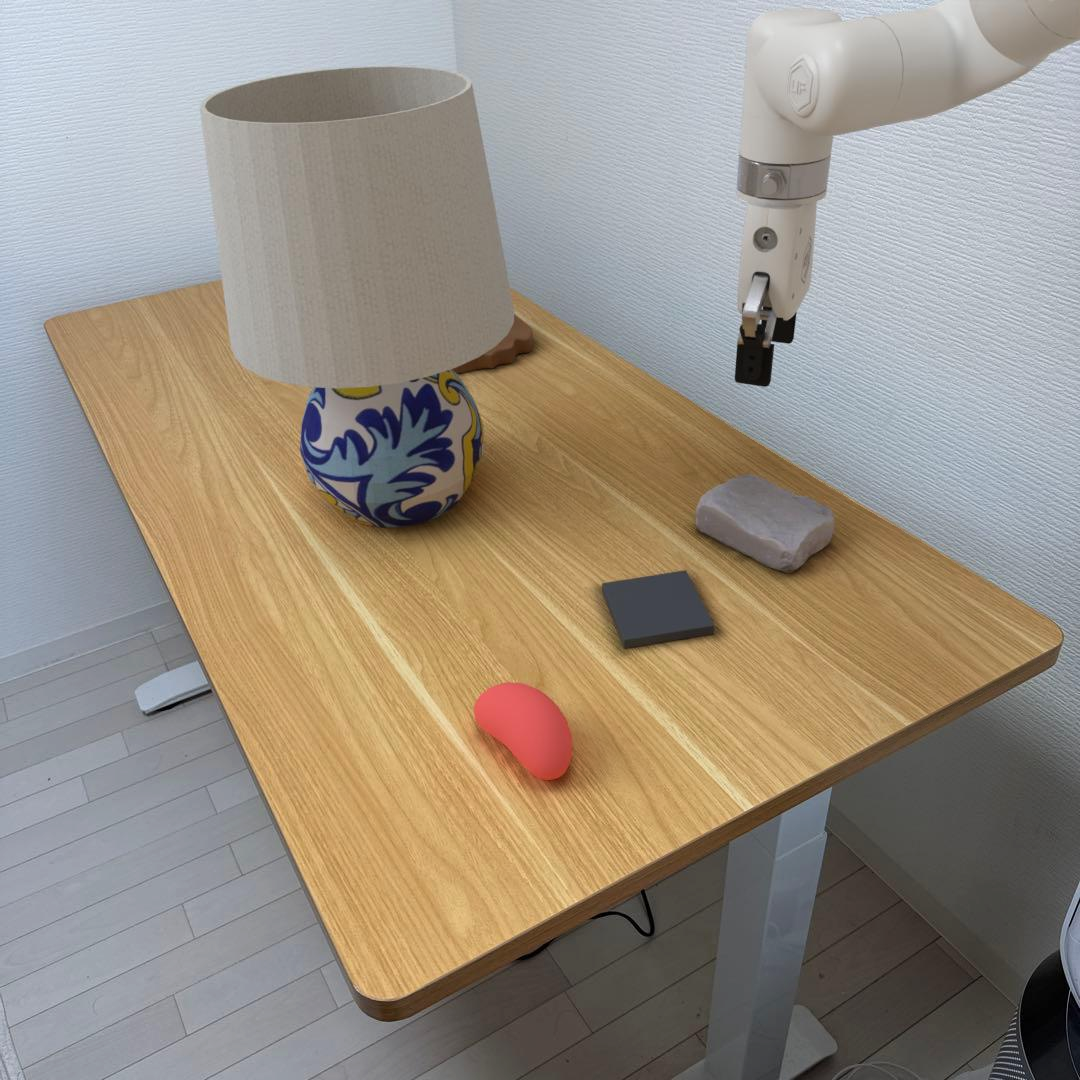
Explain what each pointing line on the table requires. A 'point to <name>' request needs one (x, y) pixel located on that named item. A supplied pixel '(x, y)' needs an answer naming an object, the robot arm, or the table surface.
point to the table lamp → (363, 272)
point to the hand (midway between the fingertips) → (764, 361)
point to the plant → (503, 348)
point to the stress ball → (527, 727)
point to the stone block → (765, 521)
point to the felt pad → (656, 609)
